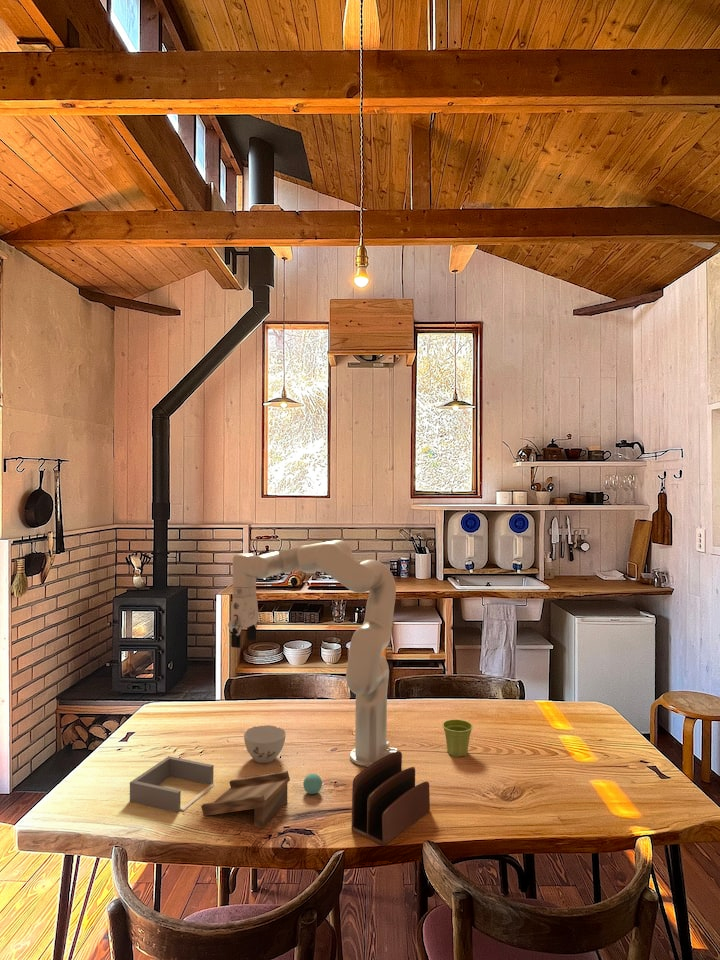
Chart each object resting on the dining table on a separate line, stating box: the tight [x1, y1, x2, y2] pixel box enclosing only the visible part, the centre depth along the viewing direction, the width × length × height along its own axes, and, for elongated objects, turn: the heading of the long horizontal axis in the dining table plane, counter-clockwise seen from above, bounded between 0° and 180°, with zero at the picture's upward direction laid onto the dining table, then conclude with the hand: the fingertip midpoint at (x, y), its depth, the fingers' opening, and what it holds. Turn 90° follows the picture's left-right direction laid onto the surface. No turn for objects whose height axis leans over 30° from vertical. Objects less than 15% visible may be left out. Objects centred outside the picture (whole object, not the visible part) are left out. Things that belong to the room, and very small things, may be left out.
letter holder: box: [350, 750, 431, 847], centre depth 152 cm, size 10×20×14 cm, turn 140°
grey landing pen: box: [129, 756, 215, 813], centre depth 164 cm, size 16×16×5 cm
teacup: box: [243, 724, 287, 764], centre depth 185 cm, size 15×12×8 cm
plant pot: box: [442, 718, 474, 758], centre depth 189 cm, size 9×9×9 cm
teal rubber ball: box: [303, 773, 323, 795], centre depth 165 cm, size 5×5×5 cm
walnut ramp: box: [200, 770, 291, 829], centre depth 157 cm, size 18×14×8 cm
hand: (243, 643), depth 200 cm, fingers open, 9 cm apart
